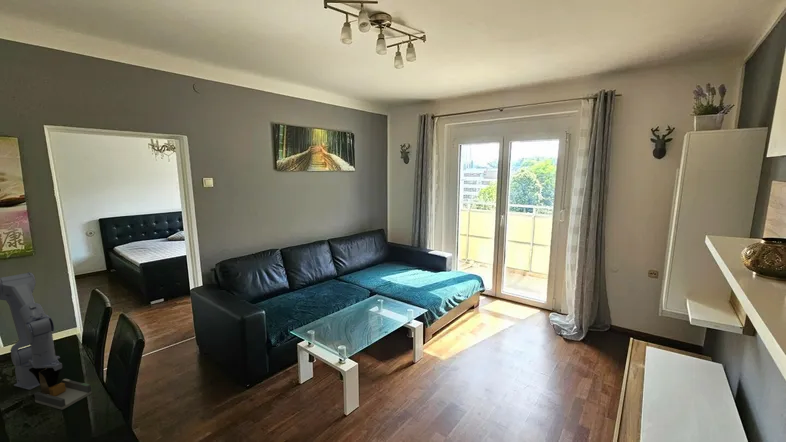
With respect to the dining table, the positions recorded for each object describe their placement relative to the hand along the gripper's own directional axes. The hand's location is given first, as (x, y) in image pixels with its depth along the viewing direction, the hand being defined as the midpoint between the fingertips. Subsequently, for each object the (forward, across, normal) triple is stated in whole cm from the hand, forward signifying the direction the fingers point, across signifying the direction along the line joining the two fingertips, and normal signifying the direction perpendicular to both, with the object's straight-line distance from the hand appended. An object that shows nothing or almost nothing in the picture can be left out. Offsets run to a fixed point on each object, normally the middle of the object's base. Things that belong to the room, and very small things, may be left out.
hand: (48, 384), depth 122 cm
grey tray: (+4, -8, 0) cm, 9 cm away
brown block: (+2, 0, 0) cm, 2 cm away
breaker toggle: (+3, -5, 0) cm, 5 cm away
